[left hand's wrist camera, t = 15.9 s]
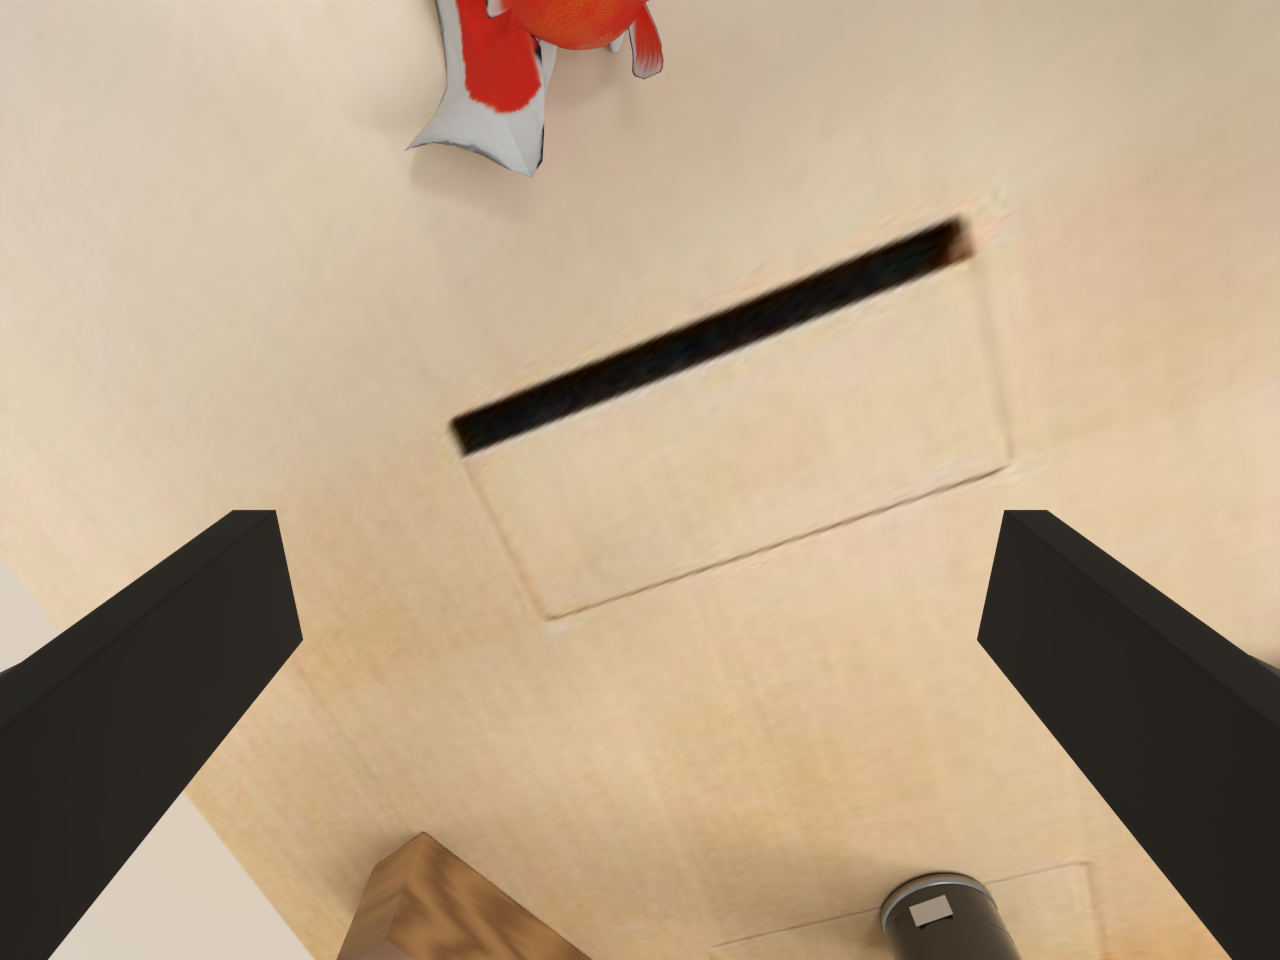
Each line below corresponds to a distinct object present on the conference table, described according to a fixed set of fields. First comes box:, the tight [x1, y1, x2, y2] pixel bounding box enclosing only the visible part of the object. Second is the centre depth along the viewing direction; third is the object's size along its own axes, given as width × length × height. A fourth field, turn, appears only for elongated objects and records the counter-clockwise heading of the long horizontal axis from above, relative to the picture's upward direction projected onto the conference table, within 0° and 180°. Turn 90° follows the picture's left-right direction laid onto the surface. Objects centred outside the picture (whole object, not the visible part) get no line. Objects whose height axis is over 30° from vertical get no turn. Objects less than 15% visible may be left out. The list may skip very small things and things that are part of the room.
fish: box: [405, 0, 663, 177], centre depth 31 cm, size 11×16×10 cm
